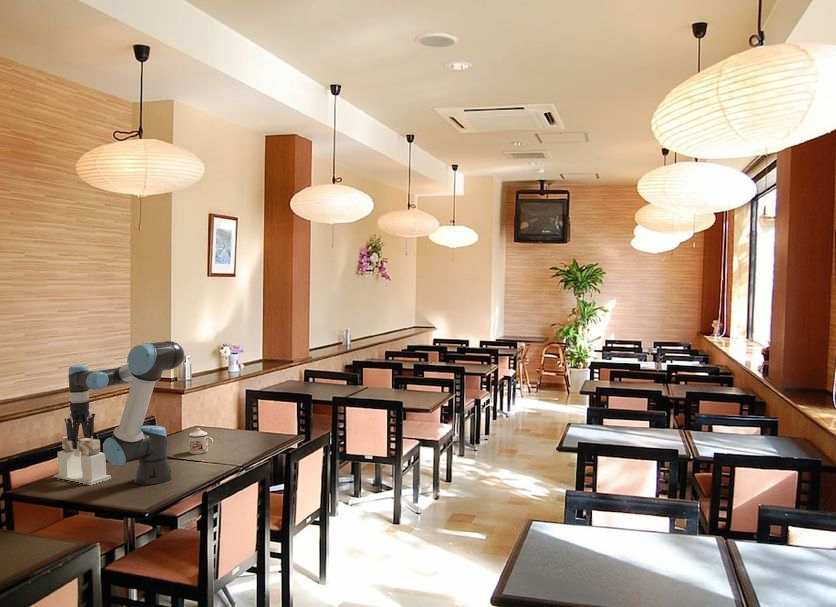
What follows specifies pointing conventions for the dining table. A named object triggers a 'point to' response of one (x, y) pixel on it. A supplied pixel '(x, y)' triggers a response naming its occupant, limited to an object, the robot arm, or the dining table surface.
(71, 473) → the twin white pillars base
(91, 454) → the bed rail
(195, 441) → the teacup with lid
